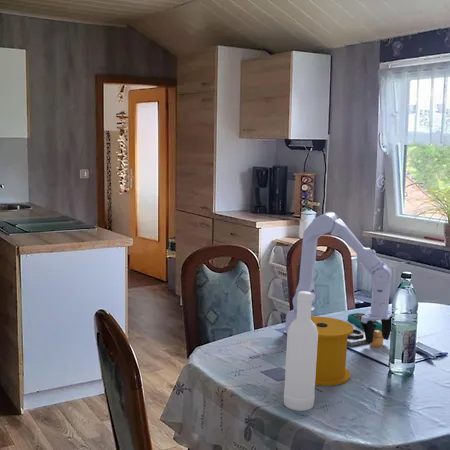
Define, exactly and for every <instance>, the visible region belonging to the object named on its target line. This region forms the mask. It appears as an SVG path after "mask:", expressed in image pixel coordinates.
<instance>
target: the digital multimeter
mask: <svg viewBox="0 0 450 450" xmlns="http://www.w3.org/2000/svg"><path fill="white" fill-rule="evenodd" d="M366 314H367V313H364V312H363V313H361V312H360V313H359V312H357V313H354V312H353V313H349V314H348V315H347V321H349V323H352V324H354V325H356V326H357V327H359V328H360V329H361V330H363V327H362V325H361V323H360V322H361V316H364V315H366ZM372 322H373V324H375V325H377V326H376V328H375V330H380V331H382V323H381V322H379V321H378V320H376V321H372Z"/></svg>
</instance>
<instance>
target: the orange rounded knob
mask: <svg viewBox="0 0 450 450" xmlns="http://www.w3.org/2000/svg"><path fill="white" fill-rule="evenodd" d="M370 346H371V347H373V348H375V349H376V348H377V349H378V348H383V346H384V339H383V336H382V330H374V334H373V341H372V343H370Z"/></svg>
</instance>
